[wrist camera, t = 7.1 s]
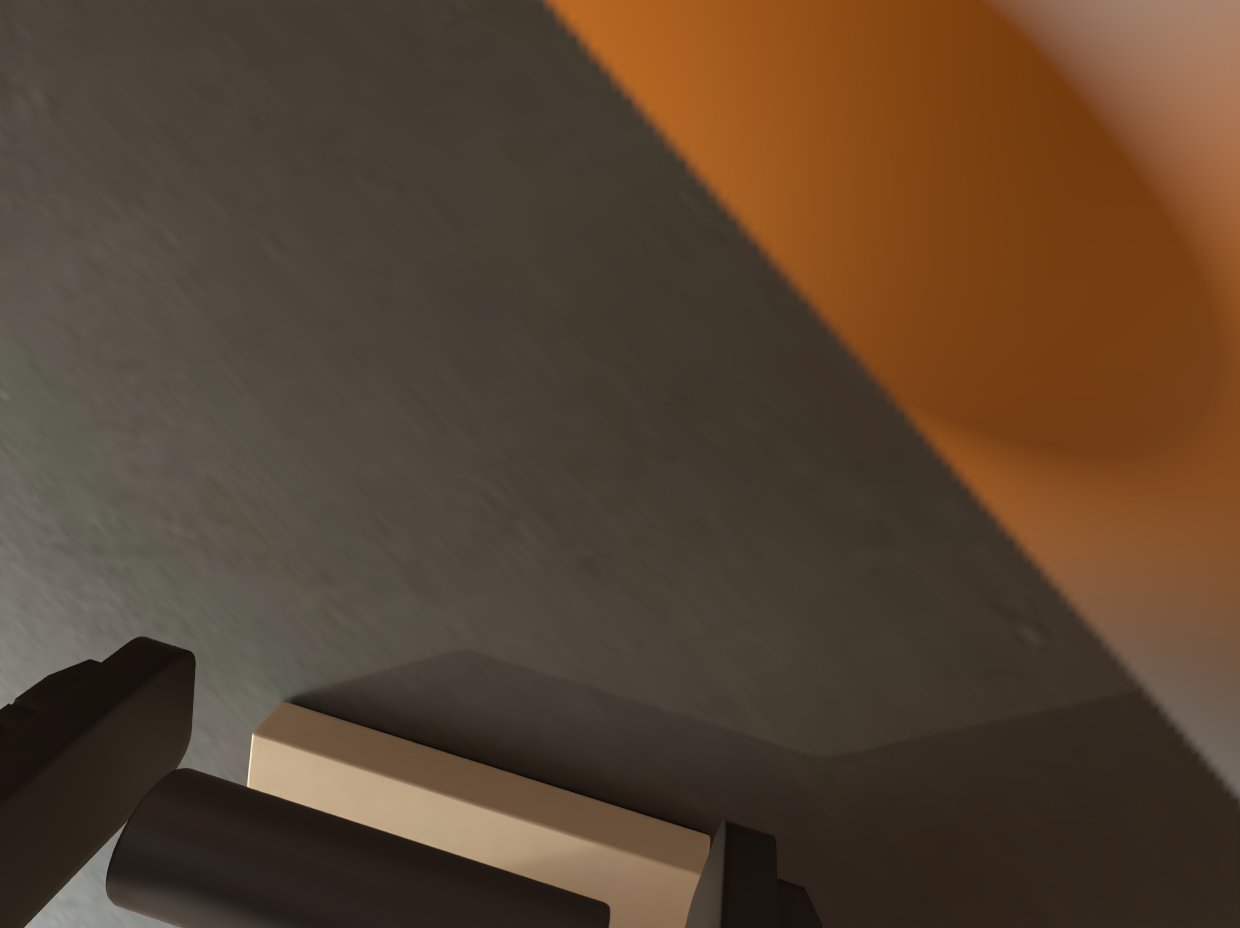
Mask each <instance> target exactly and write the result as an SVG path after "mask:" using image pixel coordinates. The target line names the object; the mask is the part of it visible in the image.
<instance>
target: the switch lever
mask: <svg viewBox="0 0 1240 928" xmlns="http://www.w3.org/2000/svg"><path fill="white" fill-rule="evenodd" d="M106 892H107V896H108V898H109V899H110V900H111V901H112V903H113V904H114V905H116V906H118V907H121V908H124V909H127V910H130V911H133V912H136V913H139V914H142V915H145V916H148V917H151V918H154V919H157V920H160V921H163V922H166V923H169V924H172V925H175V926H178V927H181V928H609V923H610V906H609V905H608V904H606V903H605V902H602V901H599V900H596V899H593V898H590V897H587V896H583V895H580V894H577V893H574V892H571V891H568V890H565V889H562V888H559V887H556V886H553V885H549V884H546V883H543V882H540V881H537V880H534V879H531V878H528V877H525V876H522V875H518V874H515V873H512V872H509V871H506V870H503V869H500V868H497V867H494V866H491V865H487V864H484V863H481V862H478V861H475V860H472V859H469V858H466V857H463V856H460V855H457V854H453V853H450V852H447V851H444V850H441V849H438V848H435V847H432V846H429V845H426V844H422V843H419V842H416V841H413V840H410V839H407V838H404V837H401V836H398V835H395V834H391V833H388V832H385V831H382V830H379V829H376V828H373V827H370V826H367V825H364V824H360V823H357V822H354V821H351V820H348V819H345V818H342V817H339V816H336V815H333V814H330V813H326V812H323V811H320V810H317V809H314V808H311V807H308V806H305V805H302V804H299V803H295V802H292V801H289V800H286V799H283V798H280V797H277V796H274V795H271V794H268V793H264V792H261V791H258V790H255V789H252V788H249V787H246V786H243V785H240V784H237V783H234V782H230V781H227V780H224V779H221V778H218V777H215V776H212V775H209V774H206V773H203V772H199V771H196V770H193V769H190V768H182V769H177V770H174V771H172V772H170V773H168V774H167V775H165V776H164V777H163V778H162V779H160V780H159V781H158V782H157V783H156V784H155V785H154V786H153V787H152V788H151V789H150V790H149V792H148V793H147V794H146V795H145V796H144V798H143V799H142V800H141V802H140V803H139V804H138V806H137V807H136V809H135V810H134V812H133V813H132V815H131V817H130V818H129V820H128V822H127V823H126V825H125V827H124V829H123V831H122V833H121V835H120V837H119V839H118V841H117V844H116V846H115V848H114V851H113V854H112V857H111V860H110V863H109V867H108V871H107V877H106Z"/></svg>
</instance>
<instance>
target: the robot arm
mask: <svg viewBox="0 0 1240 928" xmlns="http://www.w3.org/2000/svg"><path fill="white" fill-rule="evenodd" d="M195 667H196V661H195V656H194V654H193V653H192V652H191V651H189V650H185V649H182V648H179V647H176V646H173V645H169V644H166V643H163V642H160V641H157V640H153V639H150V638H147V637H137V638H135V639H133V640H131V641H130V642H128V643H127V644H126V645H124V646H123V647H122V648H120V649H119V650H118V651H116V652H115V653H114V654H112V655H111V656H110V657H108V658H107V659H106V660H104V661H103V662H102V663H101V662H98V661H94V660H91V659H89V660H87V661H84V662H81V663H79V664H76V665H74V666H71V667H69V668H66V669H63V670H61V671H58V672H56V673H53V674H51V675H48V676H47V677H45V678H44V679H43V680H41V681H40V682H38V683H37V684H36V685H34V686H33V687H31V688H30V689H29V690H27V691H26V692H24V693H23V694H22V695H20V696H19V697H17V698H16V699H15V702H14V703H13V704H12V705H11V704H7V705H6V706H5V707H3V708H2V709H0V928H24V927H25V926H26V925H27V924H28V923H29V922H30V921H31V920H32V919H33V918H34V917H35V916H36V915H37V914H38V913H39V912H40V910H41V909H42V908H43V907H44V906H45V905H46V904H47V903H48V902H49V901H50V900H51V899H52V898H53V897H54V896H55V895H56V894H57V893H58V892H59V891H60V890H61V889H62V888H63V887H64V886H65V885H66V884H67V883H68V882H69V881H70V880H71V878H72V877H73V876H74V875H75V874H76V873H77V872H78V871H79V870H80V869H81V868H82V867H83V866H84V865H85V864H86V863H87V862H88V861H89V860H90V859H91V858H92V857H93V856H94V855H95V854H96V853H97V852H98V851H99V850H100V849H101V848H102V847H103V845H104V844H105V843H106V842H107V841H108V840H109V839H110V838H111V837H112V836H113V835H114V834H115V833H116V832H117V831H118V830H119V829H120V828H121V827H122V826H123V825H124V824H125V823H126V822H127V821H128V820H129V818H130V817H131V815H132V813H133V812H134V810H135V809H136V807H137V806H138V804H139V803H140V802H141V800H142V799H143V798H144V796H145V795H146V794H147V793H148V792H149V790H150V789H151V788H152V787H153V786H154V785H155V784H156V783H157V782H158V781H159V780H160V779H162V778H163V777H164V776H165V775H167V774H168V773H170V772H172V771H174V770H176V768H177V767H178V765H179V764H180V762H181V760H182V759H183V757H184V754H185V752H186V750H187V747H188V745H189V741H190V737H191V731H192V715H193V699H194V683H195ZM685 928H822V924H821V922H820V919H819V917H818V915H817V913H816V911H815V909H814V907H813V905H812V902H811V900H810V898H809V896H808V894H807V892H806V890H805V888H804V887H803V886H799V885H796V884H793V883H790V882H787V881H784V880H780V879H777V858H776V840H775V837H774V836H773V835H770V834H767V833H764V832H761V831H758V830H754V829H751V828H748V827H745V826H742V825H738V824H735V823H732V822H729V821H726V820H723V821H722V822H721V824H720V826H719V828H718V831H717V833H716V836H715V839H714V841H713V844H712V847H711V849H710V852H709V855H708V857H707V860H706V863H705V865H704V868H703V871H702V873H701V876H700V879H699V881H698V884H697V887H696V890H695V892H694V895H693V898H692V901H691V905H690V908H689V912H688V916H687V921H686V925H685Z"/></svg>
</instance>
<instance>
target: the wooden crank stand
mask: <svg viewBox="0 0 1240 928" xmlns="http://www.w3.org/2000/svg"><path fill="white" fill-rule="evenodd" d="M247 787H249V788H252V789H255V790H258V791H261V792H264V793H268V794H271V795H274V796H277V797H280V798H283V799H286V800H289V801H292V802H295V803H299V804H302V805H305V806H308V807H311V808H314V809H317V810H320V811H323V812H326V813H330V814H333V815H336V816H339V817H342V818H345V819H348V820H351V821H354V822H357V823H360V824H364V825H367V826H370V827H373V828H376V829H379V830H382V831H385V832H388V833H391V834H395V835H398V836H401V837H404V838H407V839H410V840H413V841H416V842H419V843H422V844H426V845H429V846H432V847H435V848H438V849H441V850H444V851H447V852H450V853H453V854H457V855H460V856H463V857H466V858H469V859H472V860H475V861H478V862H481V863H484V864H487V865H491V866H494V867H497V868H500V869H503V870H506V871H509V872H512V873H515V874H518V875H522V876H525V877H528V878H531V879H534V880H537V881H540V882H543V883H546V884H549V885H553V886H556V887H559V888H562V889H565V890H568V891H571V892H574V893H577V894H580V895H583V896H587V897H590V898H593V899H596V900H599V901H602V902H605V903H606V904H608V905H609V906H610V923H609V928H685V925H686V921H687V916H688V912H689V908H690V905H691V901H692V898H693V895H694V892H695V890H696V887H697V884H698V881H699V879H700V876H701V873H702V871H703V868H704V865H705V863H706V860H707V857H708V855H709V850H710V836H709V835H707V834H703V833H700V832H697V831H694V830H691V829H688V828H684V827H681V826H678V825H675V824H672V823H668V822H665V821H662V820H659V819H656V818H653V817H649V816H646V815H643V814H640V813H637V812H634V811H630V810H627V809H624V808H621V807H618V806H615V805H611V804H608V803H605V802H602V801H599V800H595V799H592V798H589V797H586V796H583V795H580V794H576V793H573V792H570V791H567V790H564V789H561V788H557V787H554V786H551V785H548V784H545V783H541V782H538V781H535V780H532V779H529V778H526V777H522V776H519V775H516V774H513V773H510V772H507V771H503V770H500V769H497V768H494V767H491V766H488V765H484V764H481V763H478V762H475V761H472V760H468V759H465V758H462V757H459V756H456V755H453V754H449V753H446V752H443V751H440V750H437V749H434V748H430V747H427V746H424V745H421V744H418V743H414V742H411V741H408V740H405V739H402V738H399V737H395V736H392V735H389V734H386V733H383V732H380V731H376V730H373V729H370V728H367V727H364V726H361V725H357V724H354V723H351V722H348V721H345V720H341V719H338V718H335V717H332V716H329V715H326V714H322V713H319V712H316V711H313V710H310V709H307V708H303V707H300V706H297V705H294V704H291V703H287V702H284V701H282V702H280V703H279V704H278V705H277V707H276V708H275V709H274V710H273V711H272V712H271V713H270V714H269V716H268V717H267V718H266V719H265V720H264V721H263V722H262V723H261V724H260V726H259V727H258V728H257V729H256V730H255V731H254V732H253V734H252V744H251V754H250V764H249V774H248V784H247Z"/></svg>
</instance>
